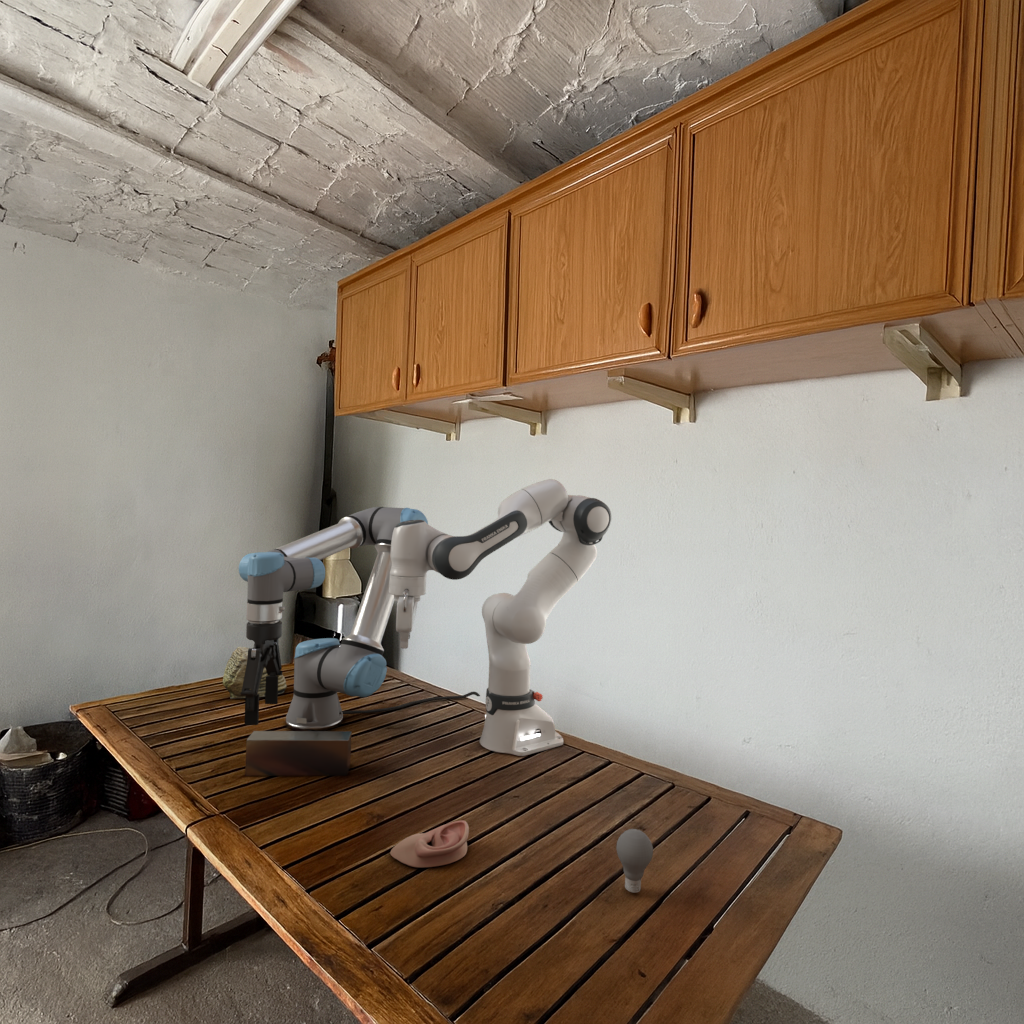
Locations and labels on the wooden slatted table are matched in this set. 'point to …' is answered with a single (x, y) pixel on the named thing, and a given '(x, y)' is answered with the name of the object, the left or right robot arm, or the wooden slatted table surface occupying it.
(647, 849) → the light bulb
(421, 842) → the anatomical model
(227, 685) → the fossil
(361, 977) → the wooden slatted table surface
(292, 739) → the bar
